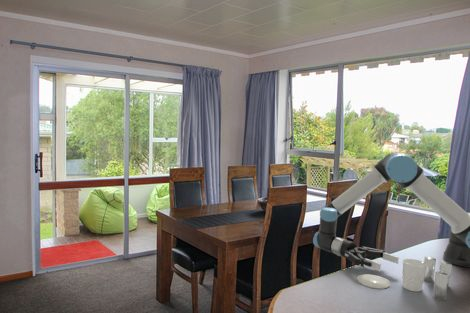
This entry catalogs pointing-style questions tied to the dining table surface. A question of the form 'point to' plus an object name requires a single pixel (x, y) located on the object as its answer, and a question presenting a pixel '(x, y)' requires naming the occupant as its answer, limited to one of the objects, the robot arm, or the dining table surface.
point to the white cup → (413, 274)
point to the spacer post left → (429, 269)
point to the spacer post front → (440, 286)
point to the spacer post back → (446, 270)
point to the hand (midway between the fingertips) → (389, 263)
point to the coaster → (373, 281)
